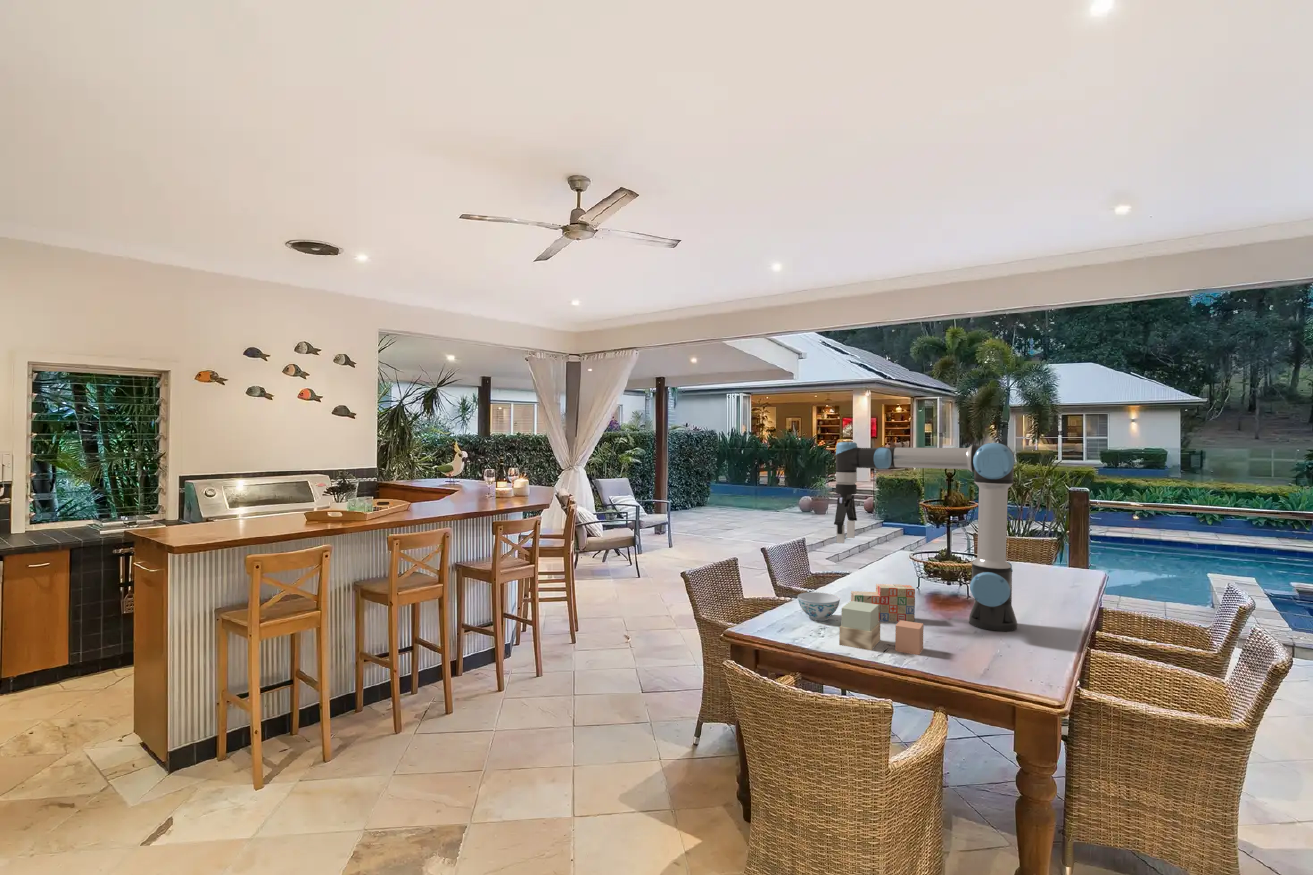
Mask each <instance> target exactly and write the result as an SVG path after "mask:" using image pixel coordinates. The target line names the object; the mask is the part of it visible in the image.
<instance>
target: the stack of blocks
mask: <svg viewBox="0 0 1313 875" xmlns="http://www.w3.org/2000/svg"><path fill="white" fill-rule="evenodd" d="M915 596H916V588H915V587H913V586H912V585H910V584H901V583H898V584H897V583H892V584H891V583H890V584H889V583H888V584H887V583H885V584H884V583H875V591H863V590H862V591H855V590H851V592H850V601H856V602H864V603H871V604H878V605H879V618H878V622H894V623H896V622H897V623H898V622H899V621H900V620H902V621H909V622H915V617H916V616H915V609H916V597H915Z"/></svg>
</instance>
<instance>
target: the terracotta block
mask: <svg viewBox="0 0 1313 875" xmlns="http://www.w3.org/2000/svg"><path fill="white" fill-rule="evenodd" d="M894 642H895V643H894V644H895V646H894V647H895V648H894V650H895V652H899V653H903V654H904V653H905V654H911V655H914V656H915V655H916V656H920V655H921V653H922V651H923V650H924V623H923V622H915V621H914V622H909V621H902V620H900V621H899V622H897V623H896V625H895V640H894Z"/></svg>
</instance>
